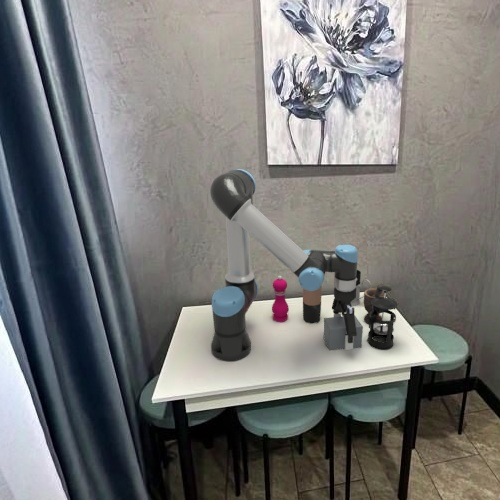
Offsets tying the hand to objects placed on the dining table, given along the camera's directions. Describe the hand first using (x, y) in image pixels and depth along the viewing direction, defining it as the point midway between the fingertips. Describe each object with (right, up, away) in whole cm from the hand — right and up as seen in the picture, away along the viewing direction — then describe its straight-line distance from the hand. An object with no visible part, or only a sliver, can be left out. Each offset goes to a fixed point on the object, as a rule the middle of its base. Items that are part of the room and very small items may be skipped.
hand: (342, 338), depth 134 cm
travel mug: (-9, +4, +18) cm, 20 cm away
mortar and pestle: (+17, +3, +13) cm, 21 cm away
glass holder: (+13, +9, +29) cm, 33 cm away
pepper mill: (-22, +4, +19) cm, 30 cm away
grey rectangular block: (0, -2, +1) cm, 2 cm away
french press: (+14, -1, 0) cm, 14 cm away
